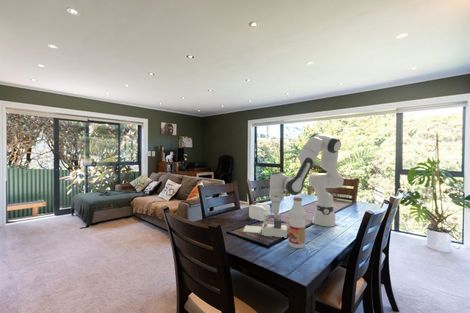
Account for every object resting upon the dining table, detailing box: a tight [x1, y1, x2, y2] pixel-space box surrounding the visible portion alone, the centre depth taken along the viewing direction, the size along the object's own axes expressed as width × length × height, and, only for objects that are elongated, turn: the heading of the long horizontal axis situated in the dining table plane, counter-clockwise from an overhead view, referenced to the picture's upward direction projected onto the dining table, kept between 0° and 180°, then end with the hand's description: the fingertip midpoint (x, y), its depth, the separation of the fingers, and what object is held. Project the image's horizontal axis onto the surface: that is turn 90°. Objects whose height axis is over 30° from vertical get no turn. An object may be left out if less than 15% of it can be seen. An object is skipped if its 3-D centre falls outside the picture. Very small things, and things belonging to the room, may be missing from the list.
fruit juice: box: [287, 196, 306, 249], centre depth 131 cm, size 9×9×28 cm
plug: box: [273, 218, 287, 228], centre depth 148 cm, size 5×8×8 cm, turn 78°
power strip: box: [261, 223, 288, 239], centre depth 149 cm, size 9×16×6 cm, turn 78°
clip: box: [263, 213, 281, 226], centre depth 150 cm, size 2×11×7 cm, turn 98°
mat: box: [242, 224, 262, 235], centre depth 156 cm, size 12×12×1 cm
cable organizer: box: [248, 202, 271, 222], centre depth 182 cm, size 15×11×12 cm
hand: (275, 217), depth 149 cm, fingers closed, pressing on clip
